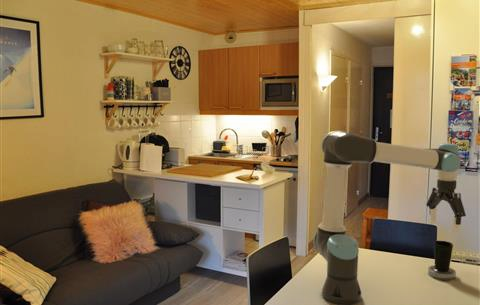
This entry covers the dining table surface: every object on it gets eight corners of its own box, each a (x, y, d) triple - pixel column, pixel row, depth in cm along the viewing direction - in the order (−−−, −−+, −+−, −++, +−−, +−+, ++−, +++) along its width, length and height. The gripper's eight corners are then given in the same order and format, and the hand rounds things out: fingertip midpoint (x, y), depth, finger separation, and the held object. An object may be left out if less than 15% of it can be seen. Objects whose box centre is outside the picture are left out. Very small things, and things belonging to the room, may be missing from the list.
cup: (447, 266, 193) (449, 240, 191) (454, 273, 185) (456, 246, 184) (429, 266, 193) (431, 240, 192) (435, 272, 186) (437, 245, 184)
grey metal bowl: (440, 281, 183) (440, 275, 182) (422, 272, 193) (422, 266, 193) (461, 278, 186) (461, 272, 186) (442, 269, 196) (442, 263, 196)
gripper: (477, 184, 174) (473, 234, 176) (433, 174, 197) (430, 219, 200) (462, 185, 171) (459, 236, 174) (419, 175, 195) (417, 220, 198)
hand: (443, 227), depth 187 cm, fingers open, 13 cm apart
